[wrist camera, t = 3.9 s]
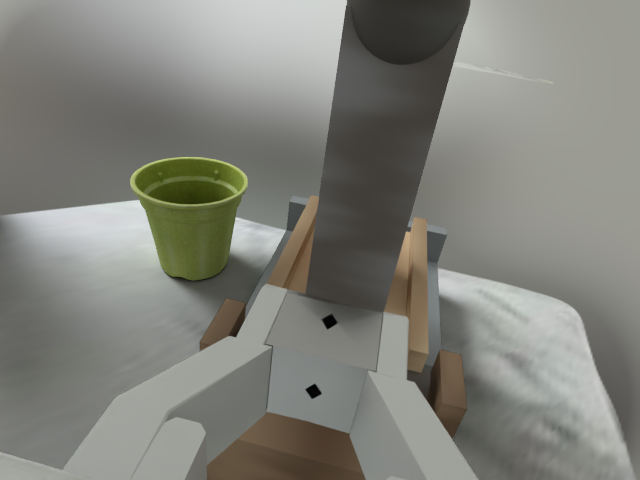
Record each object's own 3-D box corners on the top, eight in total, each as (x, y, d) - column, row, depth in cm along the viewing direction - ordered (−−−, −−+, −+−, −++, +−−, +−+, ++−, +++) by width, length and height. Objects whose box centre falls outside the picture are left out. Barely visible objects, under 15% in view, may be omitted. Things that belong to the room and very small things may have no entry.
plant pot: (126, 249, 41) (114, 165, 36) (217, 226, 46) (217, 150, 42) (164, 307, 35) (155, 216, 31) (263, 273, 41) (269, 191, 36)
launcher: (225, 386, 19) (231, -103, 10) (301, 229, 31) (336, -61, 21) (420, 437, 18) (631, -47, 9) (421, 255, 30) (512, -35, 20)
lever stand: (114, 612, 19) (67, 482, 13) (220, 393, 29) (221, 263, 23) (428, 715, 18) (535, 621, 12) (426, 448, 28) (483, 324, 22)
